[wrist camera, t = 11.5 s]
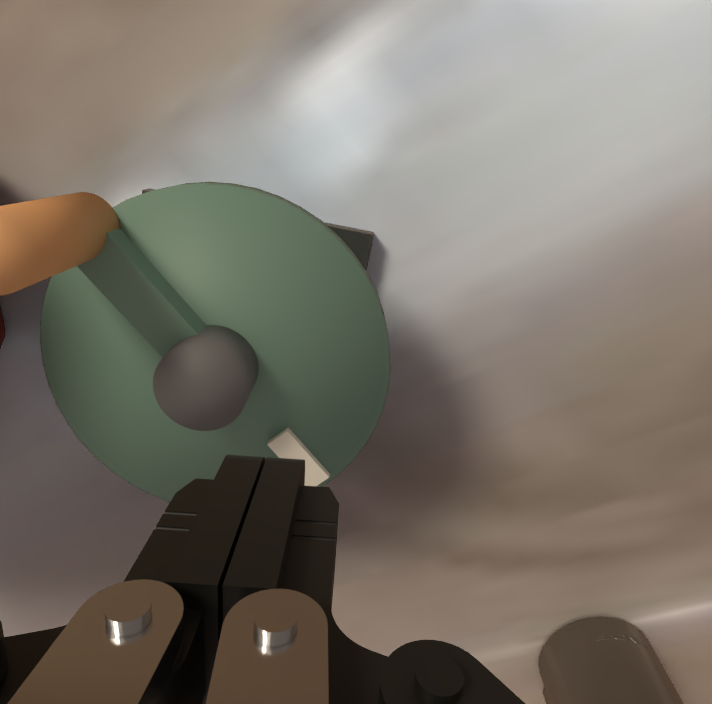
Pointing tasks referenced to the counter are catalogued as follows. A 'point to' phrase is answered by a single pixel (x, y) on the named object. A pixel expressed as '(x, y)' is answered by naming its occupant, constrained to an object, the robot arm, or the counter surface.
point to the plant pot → (1, 329)
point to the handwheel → (201, 330)
